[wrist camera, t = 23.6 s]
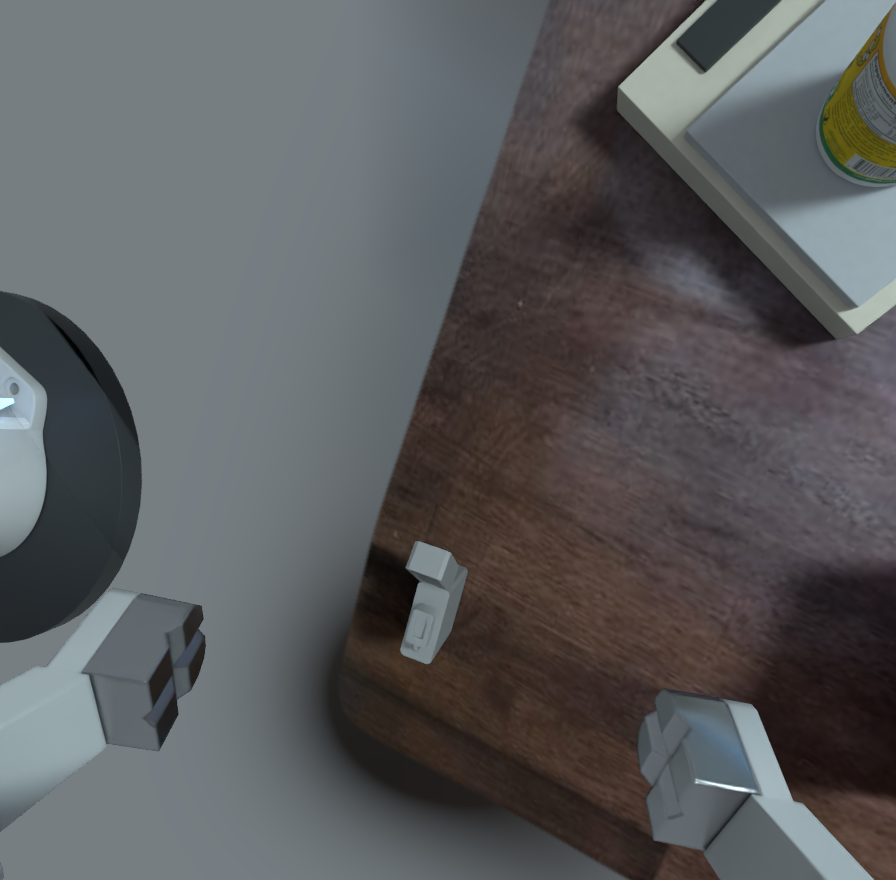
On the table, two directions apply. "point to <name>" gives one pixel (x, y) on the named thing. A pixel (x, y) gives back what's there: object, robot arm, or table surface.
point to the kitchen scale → (773, 144)
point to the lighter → (432, 601)
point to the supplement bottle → (864, 113)
